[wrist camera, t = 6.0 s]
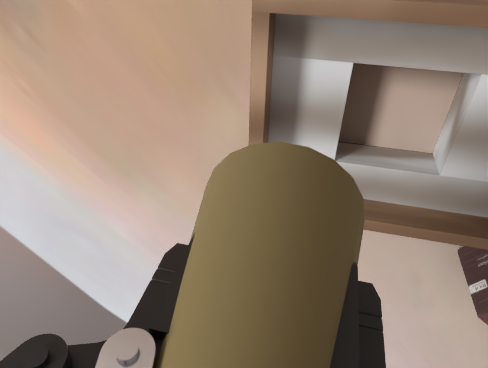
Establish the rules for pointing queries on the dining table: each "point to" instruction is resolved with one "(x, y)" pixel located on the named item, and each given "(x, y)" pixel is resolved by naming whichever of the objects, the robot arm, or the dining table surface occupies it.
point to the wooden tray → (335, 94)
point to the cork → (267, 262)
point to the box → (476, 277)
